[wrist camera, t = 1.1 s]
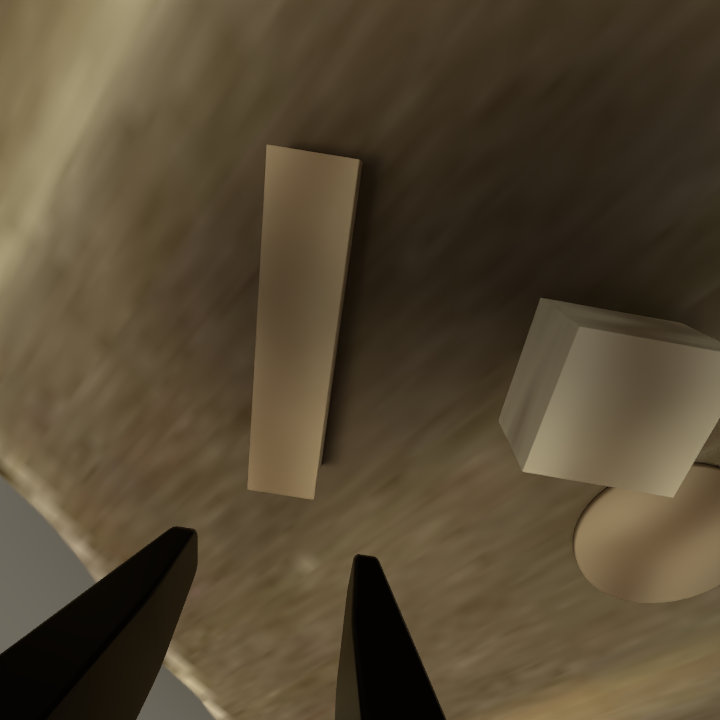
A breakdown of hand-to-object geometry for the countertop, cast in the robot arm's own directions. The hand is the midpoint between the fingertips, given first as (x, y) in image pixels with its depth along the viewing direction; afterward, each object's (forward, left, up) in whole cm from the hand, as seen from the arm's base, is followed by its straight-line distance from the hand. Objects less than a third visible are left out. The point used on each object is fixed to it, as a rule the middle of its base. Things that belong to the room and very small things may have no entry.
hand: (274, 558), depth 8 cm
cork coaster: (-18, +8, -12) cm, 23 cm away
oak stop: (+2, 0, -12) cm, 12 cm away
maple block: (-11, 0, -12) cm, 16 cm away
